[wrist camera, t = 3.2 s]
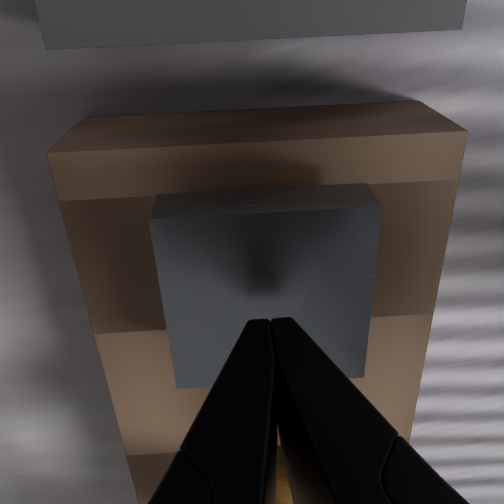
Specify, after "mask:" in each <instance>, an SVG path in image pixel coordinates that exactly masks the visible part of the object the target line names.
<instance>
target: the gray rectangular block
mask: <svg viewBox="0 0 504 504" xmlns="http://www.w3.org/2000/svg"><path fill="white" fill-rule="evenodd" d="M381 215H382V205H381V203H380V202H379V200H378V199H377V198H376V196H375V195H374V193H373V192H372V190H371V189H370V187H369V186H368V185H367V183H353V184H334V185H316V186H298V187H279V188H261V189H243V190H224V191H206V192H188V193H169V194H157V195H156V198H155V201H154V204H153V207H152V210H151V213H150V216H149V225H150V231H151V237H152V243H153V249H154V255H155V262H156V268H157V274H158V280H159V286H160V292H161V298H162V304H163V310H164V316H165V322H166V328H167V334H168V340H169V346H170V352H171V358H172V364H173V370H174V376H175V383H176V389H189V388H205V387H212V386H213V384H214V382H215V380H216V379H217V377H218V375H219V373H220V371H221V369H222V367H223V366H224V364H225V362H226V360H227V358H228V356H229V354H230V353H231V351H232V349H233V347H234V345H235V343H236V341H237V340H238V338H239V336H240V334H241V332H242V330H243V328H244V327H245V325H246V323H247V321H248V320H250V319H264V318H267V319H269V320H270V322H271V319H273V318H281V317H291V318H293V319H294V320H295V321H296V322H297V323H298V324H299V325H300V326H301V327H302V328H303V330H304V331H305V332H306V333H307V334H308V335H309V336H310V337H311V338H312V339H313V340H314V341H315V343H316V344H317V345H318V346H319V347H320V348H321V349H322V350H323V351H324V352H325V353H326V354H327V356H328V357H329V358H330V359H331V360H332V361H333V362H334V363H335V364H336V365H337V366H338V367H339V369H340V370H341V371H342V372H343V373H344V374H345V375H346V376H347V377H348V378H364V374H365V365H366V355H367V346H368V337H369V327H370V318H371V309H372V299H373V290H374V281H375V271H376V262H377V253H378V243H379V234H380V225H381Z"/></svg>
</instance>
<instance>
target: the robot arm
mask: <svg viewBox="0 0 504 504" xmlns="http://www.w3.org/2000/svg"><path fill="white" fill-rule="evenodd" d="M278 433H279V439H280V445H281V450H282V454H283V459H284V463H285V468H286V472H287V477H288V481H289V486H290V490H291V495H292V500H293V504H469V503H468V502H467V501H466V500H465V499H464V498H463V497H462V496H461V495H460V494H459V493H458V492H457V491H455V490H454V489H453V488H452V487H451V486H450V485H449V484H448V483H447V482H446V481H445V480H444V479H443V478H441V477H440V476H439V475H438V473H437V472H436V471H435V470H434V469H433V468H432V467H431V466H430V465H429V464H428V463H427V462H426V461H425V460H424V459H423V458H422V457H421V456H420V455H419V454H418V453H417V452H416V451H415V450H414V449H413V448H412V446H411V445H410V444H409V443H408V442H407V441H406V440H405V439H404V438H403V437H402V436H399V433H398V431H397V430H396V429H395V428H394V427H393V426H392V425H391V424H390V423H389V422H388V421H387V420H386V418H385V417H384V416H383V415H382V414H381V413H380V412H379V411H378V410H377V409H376V408H375V407H374V405H373V404H372V403H371V402H370V401H369V400H368V399H367V398H366V397H365V396H364V395H363V393H362V392H361V391H360V390H359V389H358V388H357V387H356V386H355V385H354V384H353V383H352V382H351V380H350V379H349V378H348V377H347V376H346V375H345V374H344V373H343V372H342V371H341V370H340V369H339V367H338V366H337V365H336V364H335V363H334V362H333V361H332V360H331V359H330V358H329V357H328V356H327V354H326V353H325V352H324V351H323V350H322V349H321V348H320V347H319V346H318V345H317V344H316V343H315V341H314V340H313V339H312V338H311V337H310V336H309V335H308V334H307V333H306V332H305V331H304V330H303V328H302V327H301V326H300V325H299V324H298V323H297V322H296V321H295V320H294V319H293V318H291V317H281V318H273V319H271V322H270V320H269V319H267V318H264V319H250V320H248V321H247V323H246V325H245V327H244V328H243V330H242V332H241V334H240V336H239V338H238V340H237V341H236V343H235V345H234V347H233V349H232V351H231V353H230V354H229V356H228V358H227V360H226V362H225V364H224V366H223V367H222V369H221V371H220V373H219V375H218V377H217V379H216V380H215V382H214V384H213V386H212V388H211V390H210V391H209V393H208V395H207V397H206V399H205V401H204V403H203V404H202V406H201V408H200V410H199V412H198V414H197V416H196V417H195V419H194V421H193V423H192V425H191V427H190V429H189V430H188V432H187V434H186V436H185V438H184V440H183V442H182V443H181V445H180V447H179V451H177V452H176V454H175V456H174V458H173V460H172V462H171V463H170V465H169V467H168V469H167V471H166V473H165V474H164V476H163V478H162V479H161V481H160V483H159V484H158V486H157V488H156V490H155V491H154V493H153V495H152V496H151V498H150V500H149V501H148V503H147V504H276V482H277V454H278Z"/></svg>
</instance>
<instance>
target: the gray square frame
mask: <svg viewBox="0 0 504 504" xmlns="http://www.w3.org/2000/svg"><path fill="white" fill-rule="evenodd" d="M466 2H467V0H34V3H35V7H36V11H37V15H38V20H39V24H40V28H41V32H42V36H43V41H44V45H45V49H46V50H50V49H70V48H91V47H112V46H133V45H153V44H174V43H195V42H216V41H236V40H257V39H278V38H298V37H319V36H340V35H361V34H381V33H402V32H423V31H444V30H462V26H463V20H464V14H465V8H466Z"/></svg>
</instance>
